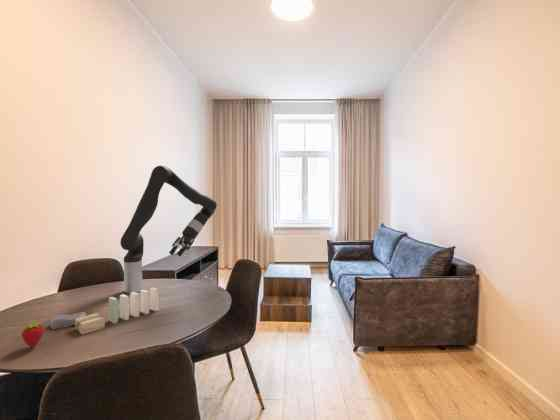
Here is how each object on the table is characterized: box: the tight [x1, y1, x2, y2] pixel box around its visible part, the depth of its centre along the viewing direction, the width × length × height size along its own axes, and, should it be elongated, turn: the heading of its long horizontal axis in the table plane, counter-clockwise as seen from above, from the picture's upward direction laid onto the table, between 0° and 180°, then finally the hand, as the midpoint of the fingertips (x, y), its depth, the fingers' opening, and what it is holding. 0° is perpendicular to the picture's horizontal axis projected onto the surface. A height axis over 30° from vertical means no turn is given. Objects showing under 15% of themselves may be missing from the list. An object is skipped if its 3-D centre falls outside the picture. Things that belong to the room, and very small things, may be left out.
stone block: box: [50, 311, 87, 329], centre depth 126 cm, size 12×5×10 cm
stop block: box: [74, 313, 106, 335], centre depth 120 cm, size 8×8×4 cm
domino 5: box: [149, 287, 160, 312], centre depth 141 cm, size 2×5×10 cm, turn 50°
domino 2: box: [119, 293, 130, 321], centre depth 130 cm, size 2×5×10 cm, turn 50°
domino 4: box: [139, 289, 150, 315], centre depth 137 cm, size 2×5×10 cm, turn 50°
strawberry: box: [21, 319, 45, 348], centre depth 104 cm, size 6×8×10 cm
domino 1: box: [108, 296, 119, 325], centre depth 127 cm, size 2×5×10 cm, turn 50°
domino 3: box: [129, 292, 140, 318], centre depth 134 cm, size 2×5×10 cm, turn 50°
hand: (174, 254), depth 153 cm, fingers open, 8 cm apart
